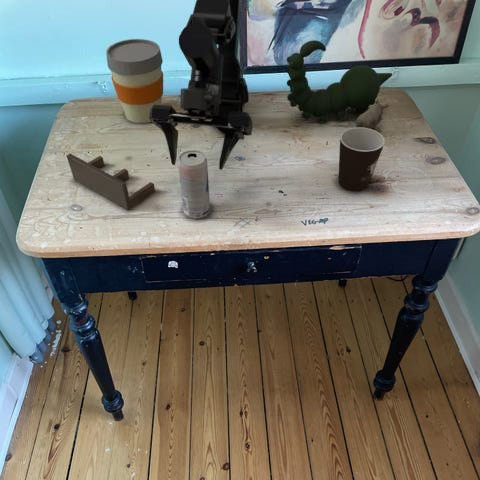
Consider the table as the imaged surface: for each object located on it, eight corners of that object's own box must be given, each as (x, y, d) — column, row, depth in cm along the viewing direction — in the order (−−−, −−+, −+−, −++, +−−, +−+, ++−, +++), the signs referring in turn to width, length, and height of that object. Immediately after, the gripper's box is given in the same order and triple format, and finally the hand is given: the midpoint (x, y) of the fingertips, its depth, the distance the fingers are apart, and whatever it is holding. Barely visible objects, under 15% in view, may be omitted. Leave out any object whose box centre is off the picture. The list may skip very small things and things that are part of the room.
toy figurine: (293, 136, 118) (394, 117, 119) (292, 54, 103) (407, 33, 104) (284, 116, 124) (380, 98, 125) (282, 36, 109) (391, 16, 110)
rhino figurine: (389, 120, 119) (395, 96, 114) (364, 146, 112) (370, 121, 107) (374, 115, 121) (379, 91, 116) (348, 140, 114) (353, 116, 109)
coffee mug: (348, 199, 100) (357, 156, 92) (325, 177, 105) (331, 134, 97) (394, 183, 103) (406, 140, 95) (369, 162, 108) (378, 119, 100)
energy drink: (210, 201, 100) (206, 149, 90) (210, 219, 96) (206, 165, 87) (183, 202, 100) (177, 150, 90) (183, 220, 96) (176, 167, 87)
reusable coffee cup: (142, 96, 128) (132, 34, 116) (179, 110, 123) (172, 47, 111) (107, 116, 121) (93, 53, 109) (145, 132, 116) (134, 67, 105)
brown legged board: (101, 163, 109) (95, 138, 104) (155, 191, 102) (151, 166, 97) (74, 180, 105) (66, 155, 100) (128, 210, 98) (122, 185, 94)
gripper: (143, 59, 84) (135, 152, 86) (250, 67, 82) (239, 162, 84) (162, 83, 95) (154, 165, 97) (256, 91, 93) (247, 175, 95)
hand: (196, 167), depth 93 cm, fingers open, 9 cm apart
